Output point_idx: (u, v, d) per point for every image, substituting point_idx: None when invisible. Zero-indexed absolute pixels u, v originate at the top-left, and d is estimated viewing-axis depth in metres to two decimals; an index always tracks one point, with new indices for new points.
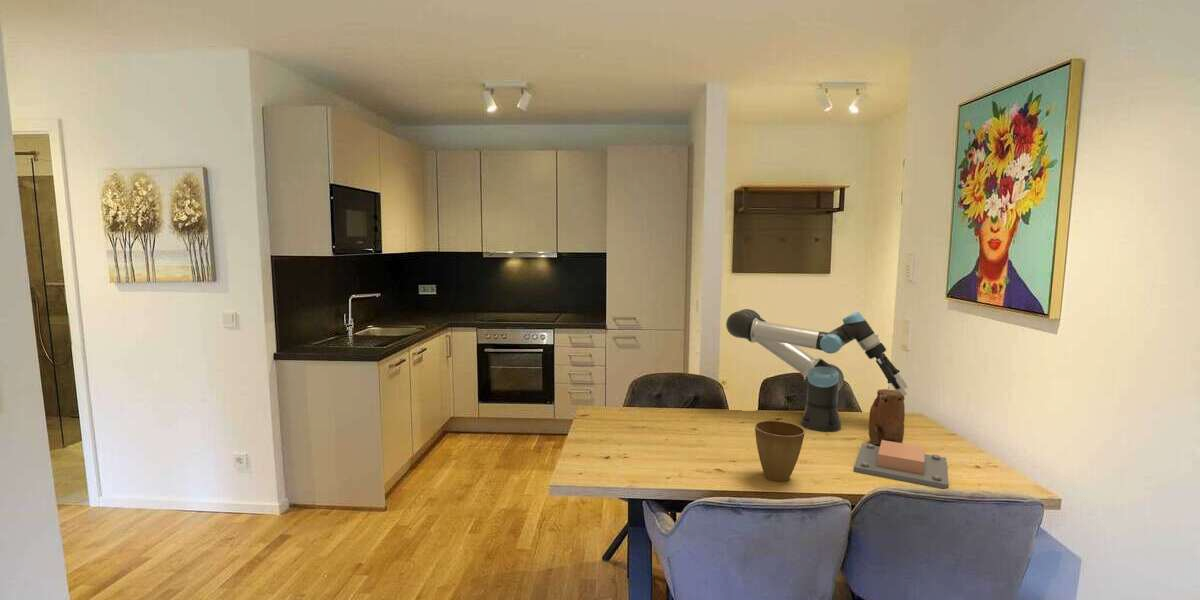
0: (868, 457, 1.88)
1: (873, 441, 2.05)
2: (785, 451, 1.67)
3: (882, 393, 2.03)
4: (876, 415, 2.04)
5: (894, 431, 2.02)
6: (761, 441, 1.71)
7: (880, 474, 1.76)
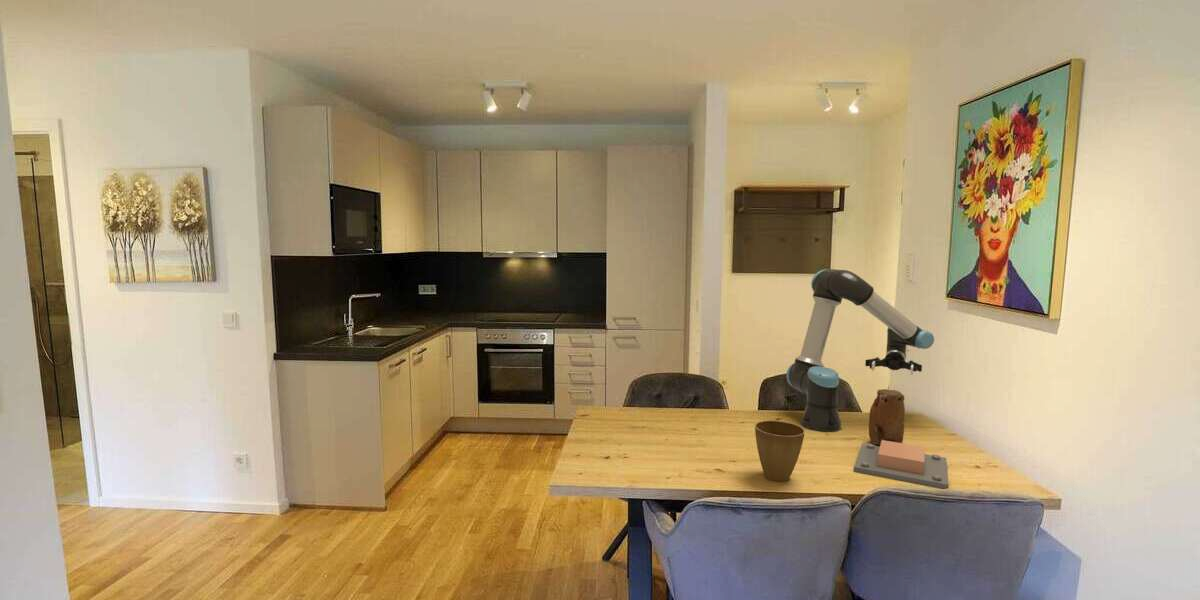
0: (868, 457, 1.88)
1: (873, 441, 2.05)
2: (785, 451, 1.67)
3: (882, 393, 2.03)
4: (876, 415, 2.04)
5: (894, 431, 2.02)
6: (761, 441, 1.71)
7: (880, 474, 1.76)
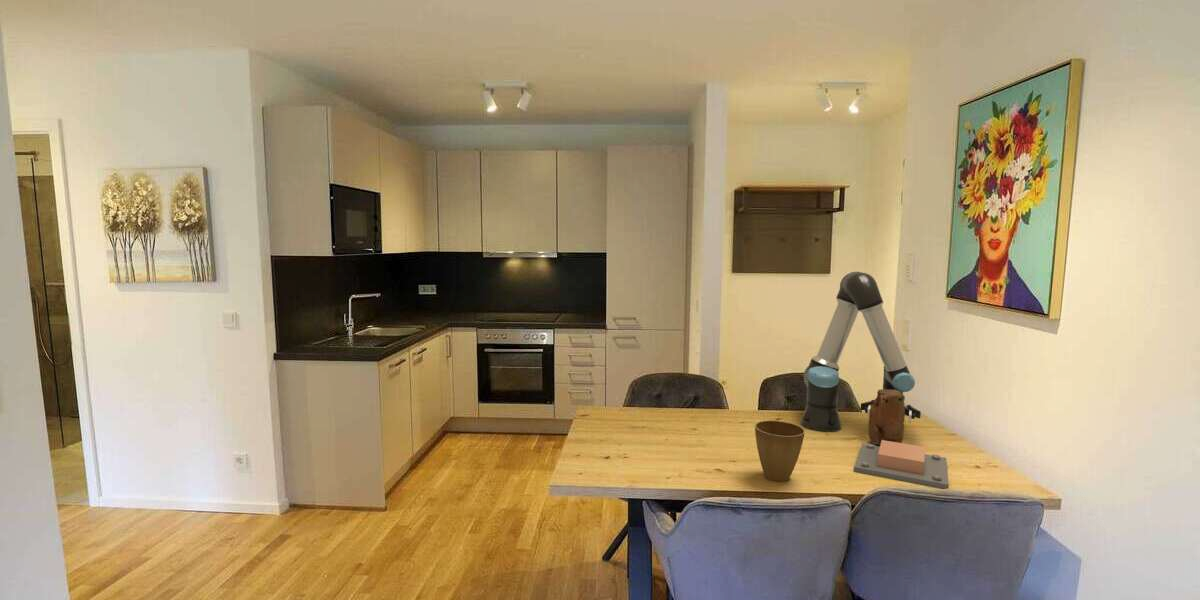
0: (868, 457, 1.88)
1: (873, 441, 2.05)
2: (785, 451, 1.67)
3: (883, 393, 2.02)
4: (876, 415, 2.03)
5: (894, 431, 2.02)
6: (761, 441, 1.71)
7: (880, 474, 1.76)
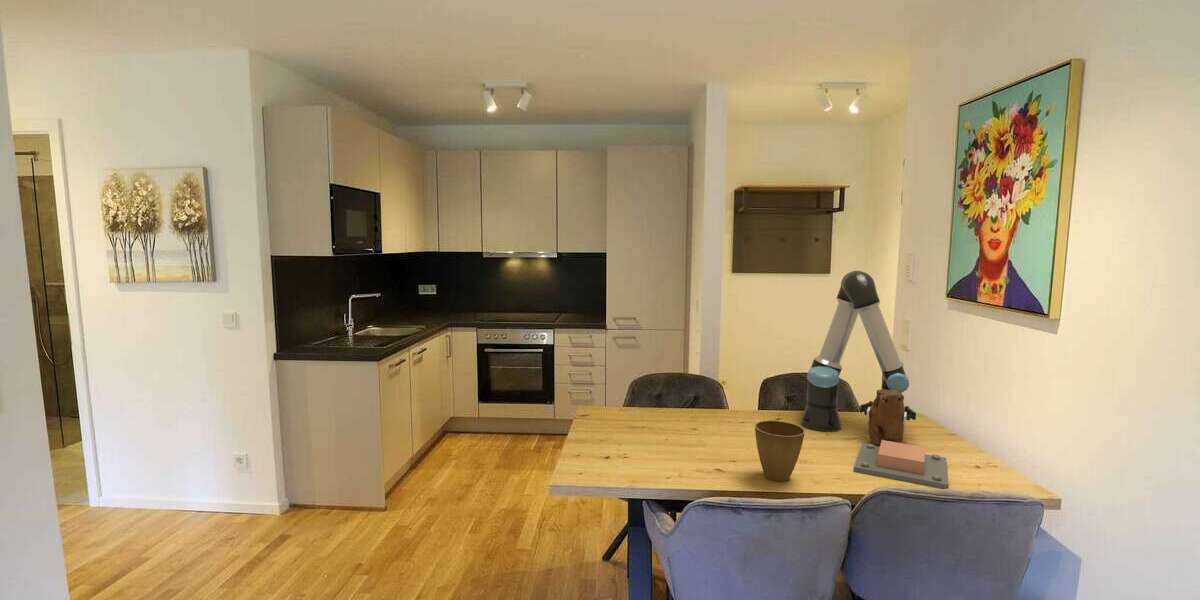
0: (868, 457, 1.88)
1: (873, 441, 2.05)
2: (785, 451, 1.67)
3: (882, 393, 2.03)
4: (876, 415, 2.03)
5: (894, 431, 2.02)
6: (761, 441, 1.71)
7: (880, 474, 1.76)
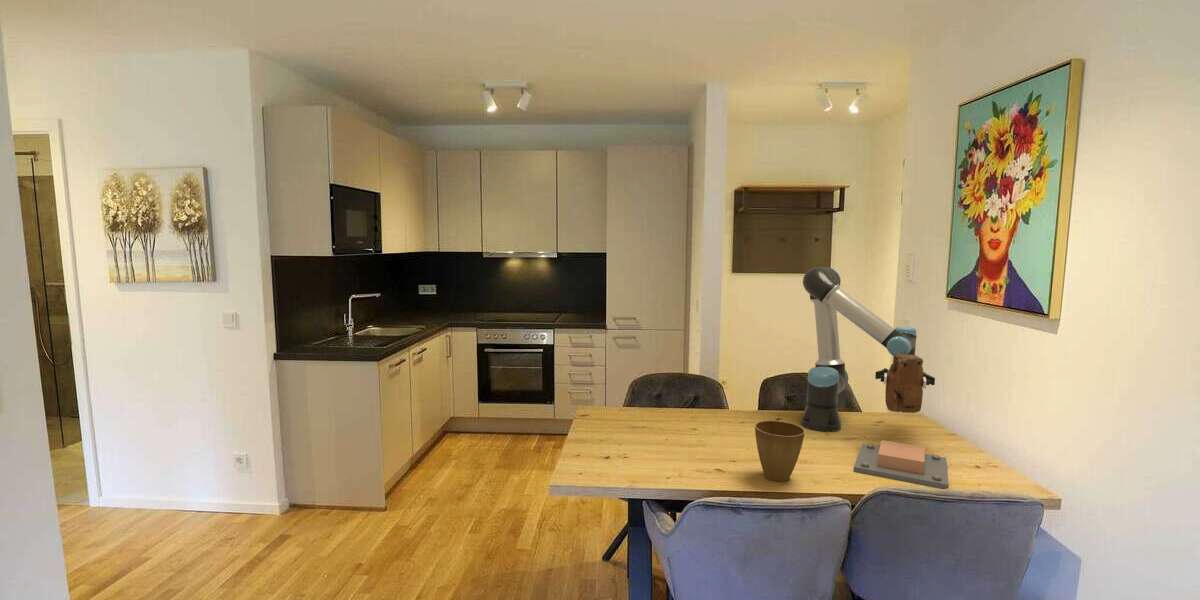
0: (868, 457, 1.88)
1: (891, 408, 1.95)
2: (785, 451, 1.67)
3: (901, 357, 1.93)
4: (894, 380, 1.93)
5: (913, 396, 1.93)
6: (761, 441, 1.71)
7: (880, 474, 1.76)
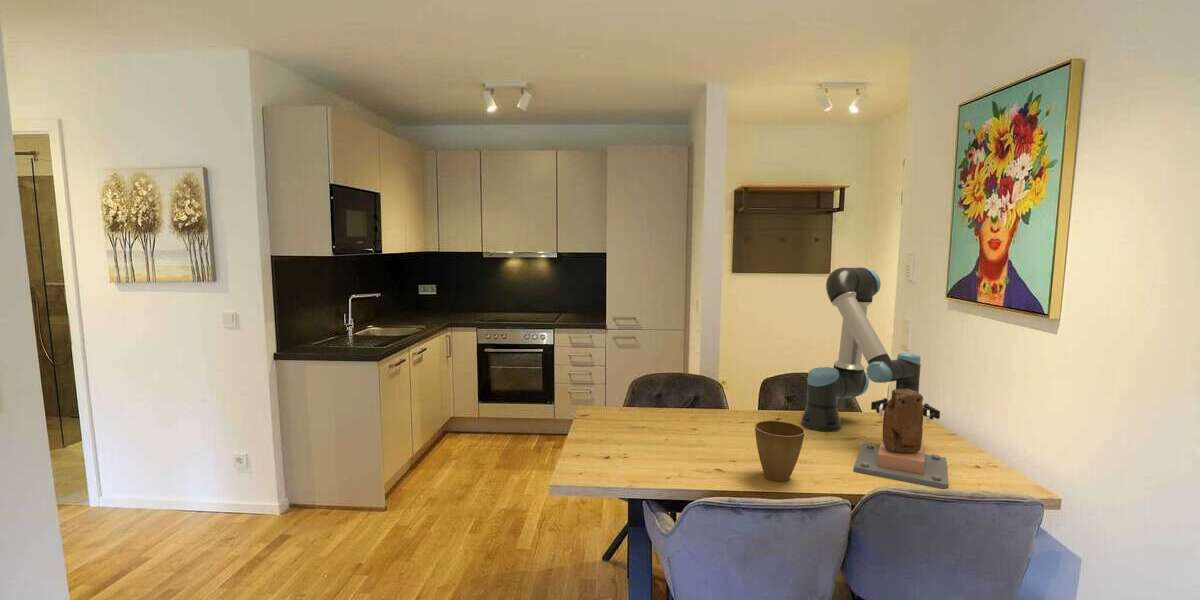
0: (868, 457, 1.88)
1: (888, 448, 1.83)
2: (785, 451, 1.67)
3: (899, 393, 1.81)
4: (892, 418, 1.81)
5: (912, 436, 1.80)
6: (761, 441, 1.71)
7: (880, 474, 1.76)
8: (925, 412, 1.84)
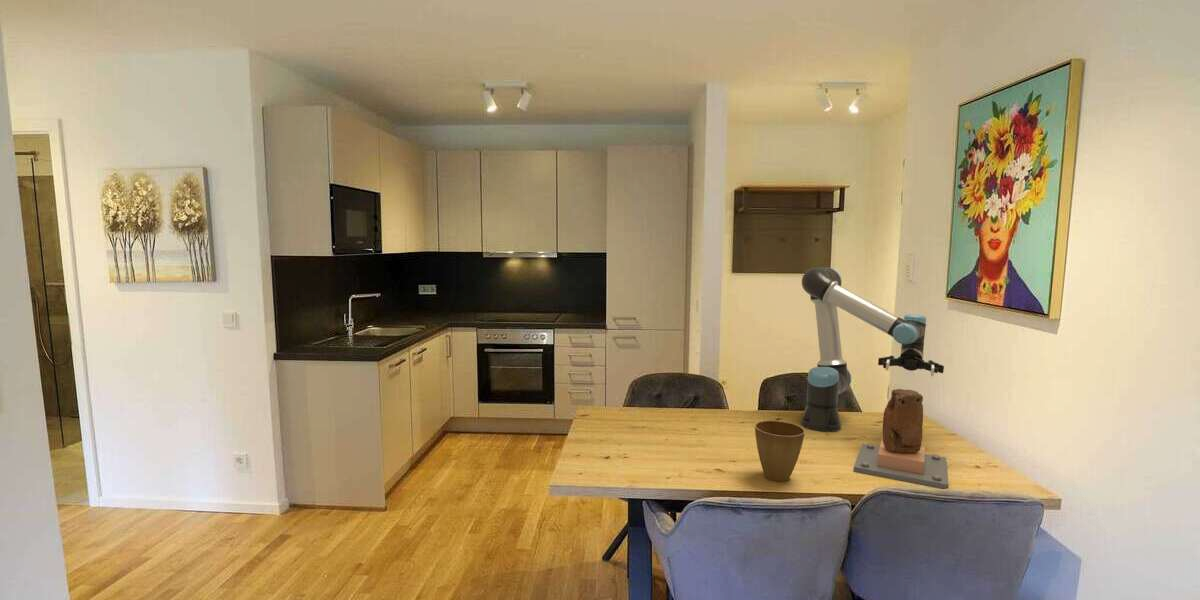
0: (868, 457, 1.88)
1: (888, 448, 1.83)
2: (785, 451, 1.67)
3: (898, 393, 1.81)
4: (892, 418, 1.81)
5: (912, 436, 1.80)
6: (761, 441, 1.71)
7: (880, 474, 1.76)
8: (929, 367, 1.94)
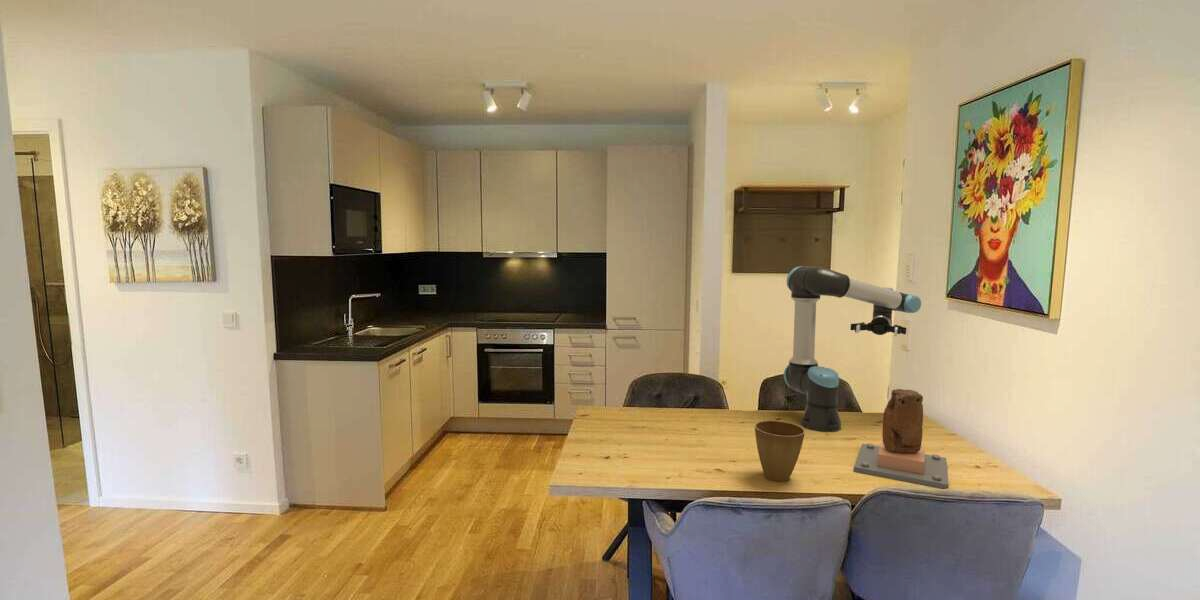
0: (868, 457, 1.88)
1: (888, 448, 1.83)
2: (785, 451, 1.67)
3: (898, 393, 1.81)
4: (892, 418, 1.81)
5: (912, 436, 1.80)
6: (761, 441, 1.71)
7: (880, 474, 1.76)
8: (894, 329, 2.23)
